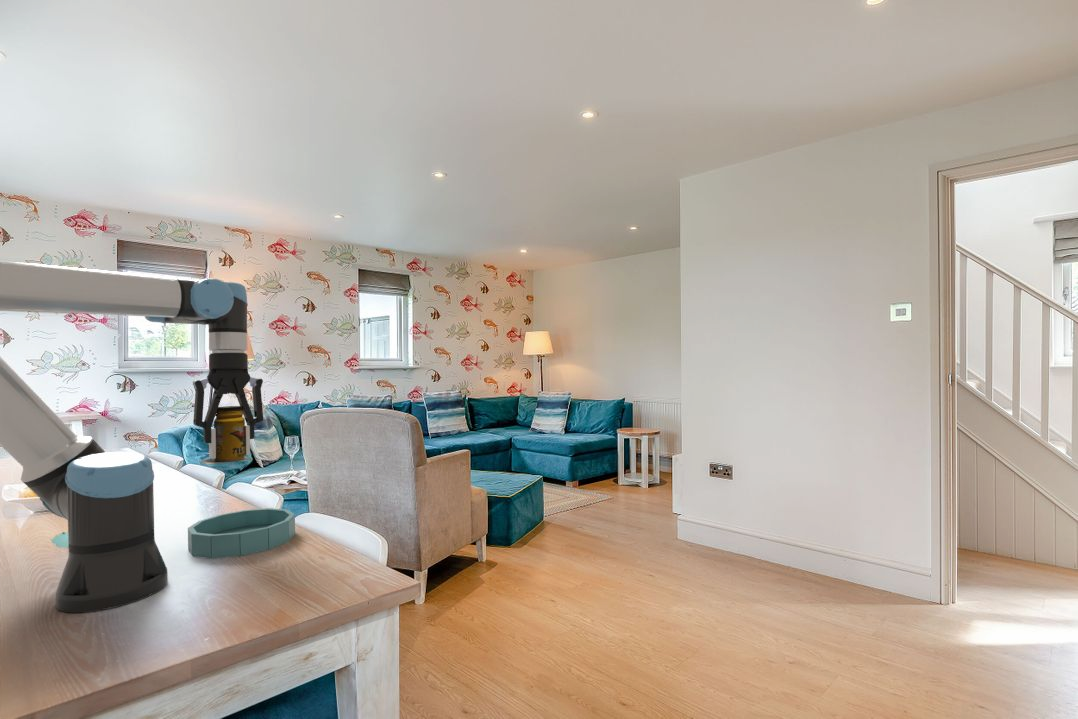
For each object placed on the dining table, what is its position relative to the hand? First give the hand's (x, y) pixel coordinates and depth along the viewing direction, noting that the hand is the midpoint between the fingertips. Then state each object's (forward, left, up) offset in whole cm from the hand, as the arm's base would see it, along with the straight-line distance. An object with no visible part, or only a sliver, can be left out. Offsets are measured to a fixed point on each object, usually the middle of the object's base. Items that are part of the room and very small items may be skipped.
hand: (229, 455), depth 122 cm
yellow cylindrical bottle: (0, +1, -1) cm, 2 cm away
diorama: (+28, +25, -19) cm, 43 cm away
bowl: (-4, -2, -19) cm, 19 cm away
